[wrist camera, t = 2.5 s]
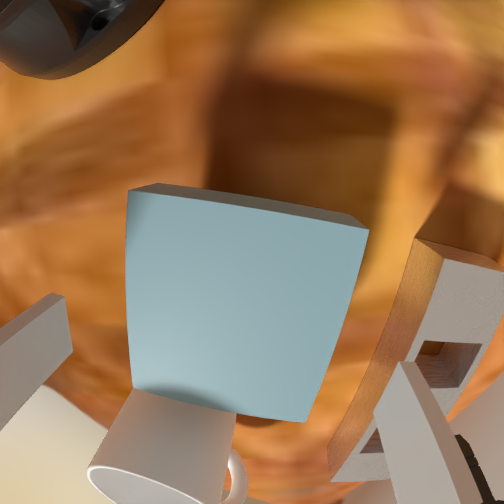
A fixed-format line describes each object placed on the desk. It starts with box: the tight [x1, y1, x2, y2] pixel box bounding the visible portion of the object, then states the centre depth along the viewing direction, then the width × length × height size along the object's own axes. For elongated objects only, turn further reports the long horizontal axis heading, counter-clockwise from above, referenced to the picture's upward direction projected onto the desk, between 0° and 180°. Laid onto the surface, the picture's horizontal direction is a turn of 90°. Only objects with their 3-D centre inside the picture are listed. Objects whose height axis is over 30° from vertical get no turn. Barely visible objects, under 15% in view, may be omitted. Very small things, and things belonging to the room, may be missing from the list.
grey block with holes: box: [327, 238, 504, 482], centre depth 18 cm, size 20×6×4 cm, turn 171°
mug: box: [87, 388, 248, 504], centre depth 17 cm, size 12×8×10 cm
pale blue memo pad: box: [126, 183, 369, 423], centre depth 15 cm, size 10×9×6 cm
